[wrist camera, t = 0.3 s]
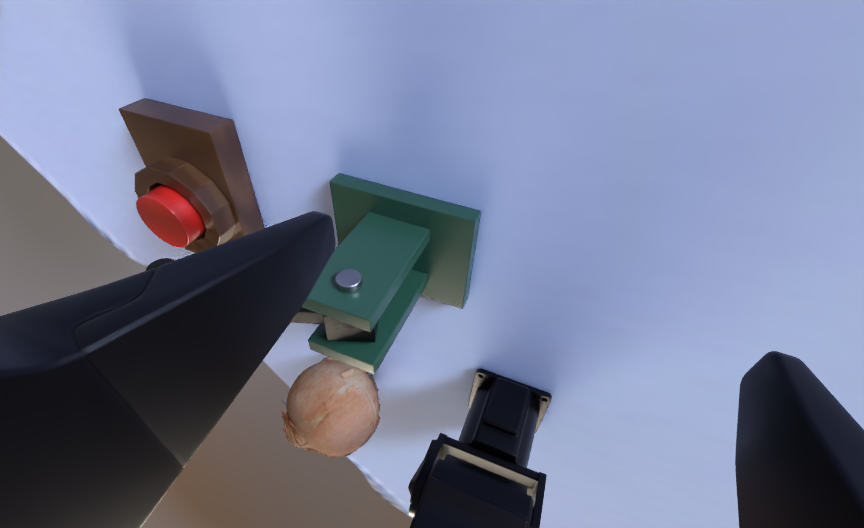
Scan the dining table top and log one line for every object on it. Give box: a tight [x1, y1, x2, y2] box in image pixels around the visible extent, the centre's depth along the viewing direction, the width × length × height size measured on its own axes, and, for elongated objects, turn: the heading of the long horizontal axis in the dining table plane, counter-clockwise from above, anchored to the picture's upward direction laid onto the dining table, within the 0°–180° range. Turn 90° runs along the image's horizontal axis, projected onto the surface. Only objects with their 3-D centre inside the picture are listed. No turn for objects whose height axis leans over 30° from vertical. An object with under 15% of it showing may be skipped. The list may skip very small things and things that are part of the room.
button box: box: [119, 98, 265, 253], centre depth 33 cm, size 13×8×4 cm, turn 178°
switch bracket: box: [302, 173, 481, 374], centre depth 26 cm, size 10×8×9 cm
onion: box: [282, 357, 380, 457], centre depth 42 cm, size 10×9×10 cm
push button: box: [136, 185, 206, 247], centre depth 31 cm, size 4×4×2 cm
